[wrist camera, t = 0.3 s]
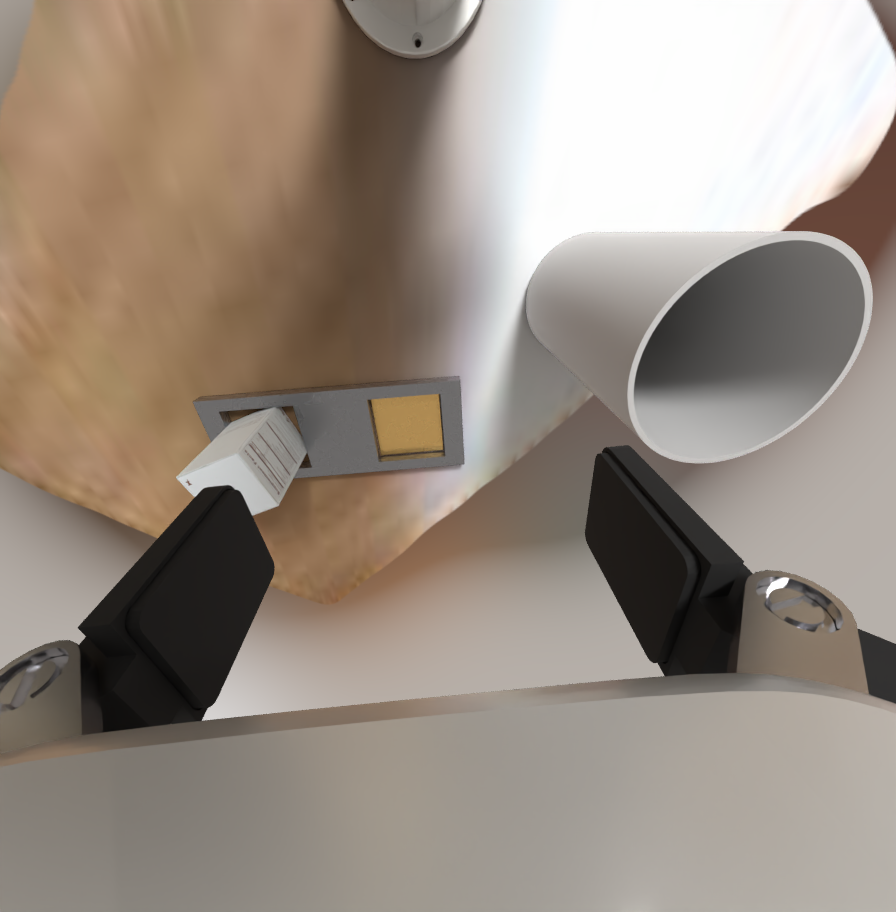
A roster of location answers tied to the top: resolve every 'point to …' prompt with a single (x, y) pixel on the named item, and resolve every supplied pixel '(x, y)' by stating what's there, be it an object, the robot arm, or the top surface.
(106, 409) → the top surface
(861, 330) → the cylinder vase
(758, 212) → the top surface
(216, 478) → the supplement box
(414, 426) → the grey flat plate
